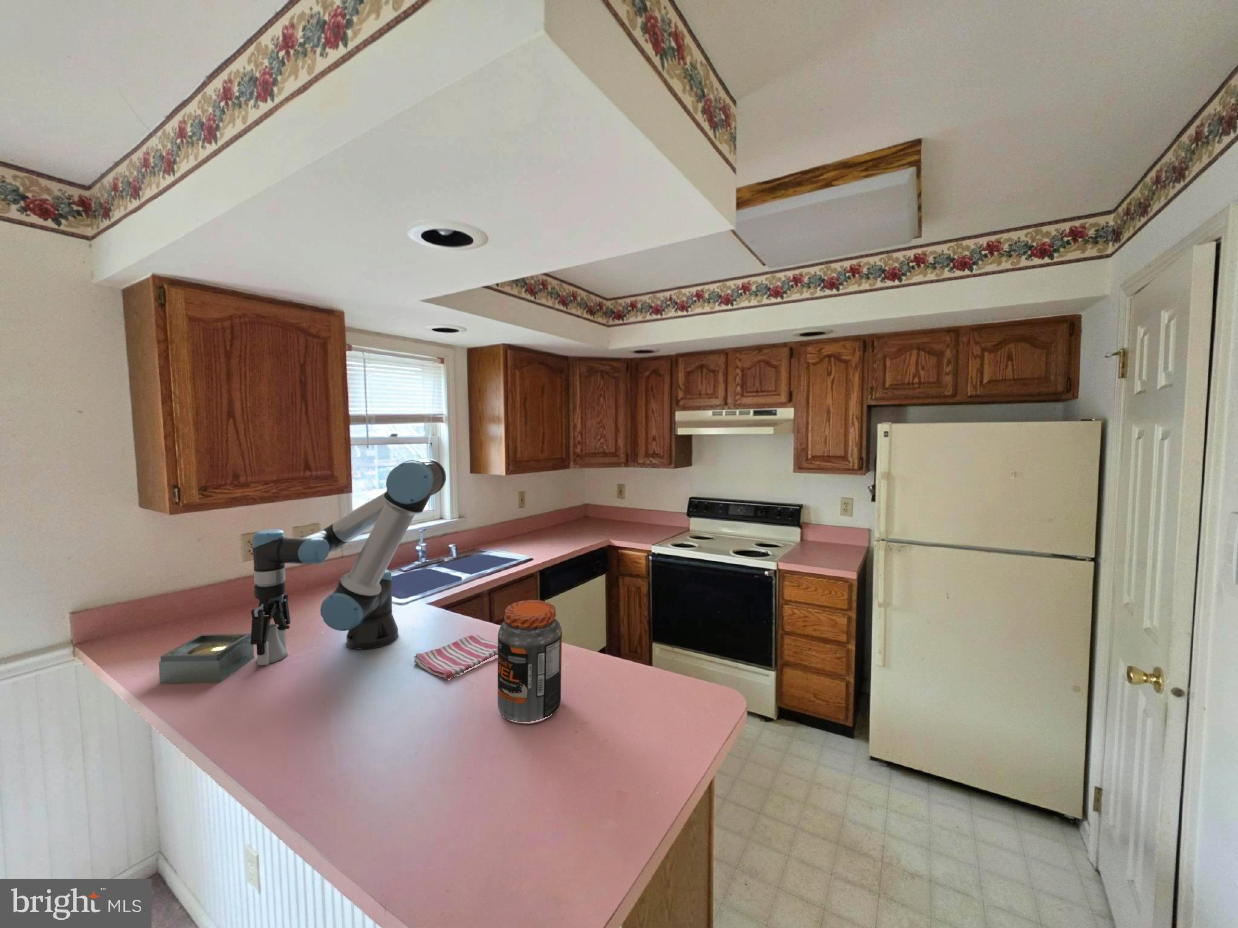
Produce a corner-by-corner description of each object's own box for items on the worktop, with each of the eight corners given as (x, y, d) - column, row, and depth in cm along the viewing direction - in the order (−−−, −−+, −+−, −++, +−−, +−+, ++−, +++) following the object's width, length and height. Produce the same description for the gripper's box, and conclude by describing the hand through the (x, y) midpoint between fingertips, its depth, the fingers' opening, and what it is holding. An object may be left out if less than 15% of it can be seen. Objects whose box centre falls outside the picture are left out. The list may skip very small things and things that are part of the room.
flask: (271, 665, 141) (270, 632, 140) (251, 662, 143) (249, 629, 142) (293, 654, 148) (292, 622, 147) (273, 651, 150) (272, 619, 149)
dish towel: (411, 665, 144) (411, 654, 144) (476, 638, 163) (476, 628, 163) (446, 684, 134) (446, 672, 134) (511, 653, 153) (511, 642, 152)
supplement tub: (486, 705, 124) (486, 605, 122) (540, 685, 134) (541, 592, 132) (516, 736, 111) (517, 626, 110) (573, 711, 122) (575, 610, 120)
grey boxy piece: (253, 657, 145) (253, 633, 145) (219, 682, 131) (218, 655, 131) (200, 658, 144) (198, 634, 143) (159, 683, 130) (158, 656, 130)
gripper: (277, 572, 154) (279, 642, 155) (231, 594, 133) (234, 675, 135) (302, 572, 154) (304, 642, 156) (261, 594, 134) (263, 674, 135)
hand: (272, 657), depth 145 cm, fingers open, 8 cm apart
